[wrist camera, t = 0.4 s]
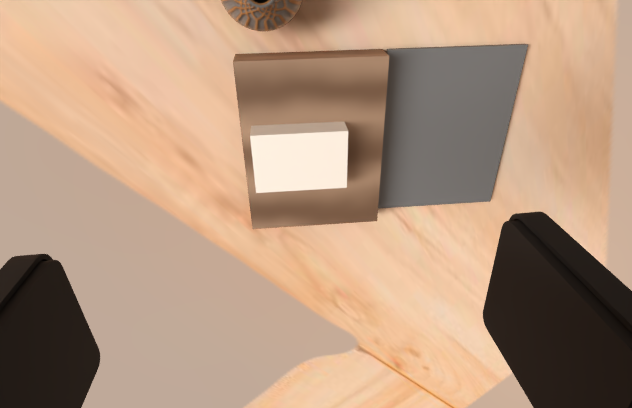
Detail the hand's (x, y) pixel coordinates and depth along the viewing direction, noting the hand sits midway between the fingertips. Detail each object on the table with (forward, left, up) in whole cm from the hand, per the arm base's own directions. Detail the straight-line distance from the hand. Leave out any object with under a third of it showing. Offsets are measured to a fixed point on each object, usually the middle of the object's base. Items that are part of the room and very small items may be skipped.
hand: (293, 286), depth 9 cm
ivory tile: (+11, +2, -31) cm, 33 cm away
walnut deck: (+11, +3, -34) cm, 36 cm away
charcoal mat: (+11, +18, -34) cm, 40 cm away
